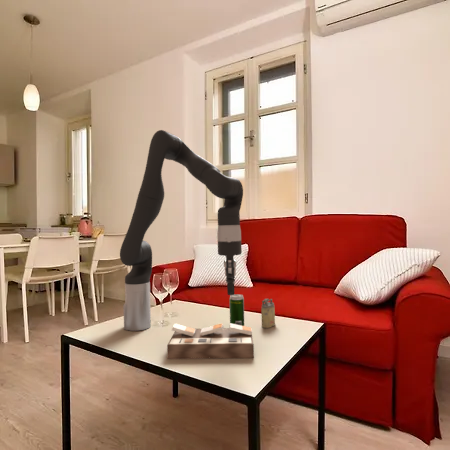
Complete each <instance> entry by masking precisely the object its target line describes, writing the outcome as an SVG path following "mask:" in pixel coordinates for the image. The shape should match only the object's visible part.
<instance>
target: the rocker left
mask: <svg viewBox="0 0 450 450" xmlns="http://www.w3.org/2000/svg"><path fill="white" fill-rule="evenodd" d="M196 329H197V328H194V327H193V328H192V327H191V326H190V327H189V326H185V325H181V324H179V323H176V322H175V323H174V324H173V326H172V328H171V331H173V332H175V331H176V332H179V333H183V334H186V335H189V336H192V337H193V336H194V333H195V330H196Z"/></svg>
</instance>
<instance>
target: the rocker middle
mask: <svg viewBox="0 0 450 450" xmlns="http://www.w3.org/2000/svg"><path fill="white" fill-rule="evenodd" d="M223 328H224V323H223V322H221V323H217V324H213V325H211V326H206V327H201V328H200V329H201V336H203V335H207V334H211V333H215V332H219V331H223Z"/></svg>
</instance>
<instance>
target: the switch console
mask: <svg viewBox="0 0 450 450" xmlns="http://www.w3.org/2000/svg"><path fill="white" fill-rule="evenodd" d="M195 329H196V330H195V333H194V336H193V337H192V336H189V335H186V334H183V333H179V332H176V331H173V334H172V335H171V338H170V339H169V341H168V343H167V346H166V347H167V348H166V349H167V354H166V355H167V360H172V359H173V360H174V359H175V360H177V359H179V360H180V359H181V360H183V359H186V360H187V359H255V354H254V349H255V348H254V340H253V339H254V337H253V334H252V335H248V334H244V333H239V332H234V331H230V330H229V327H223V331H219V332H215V333H211V334H207V335H203V336H201V329H202V328H195Z"/></svg>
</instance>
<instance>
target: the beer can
mask: <svg viewBox="0 0 450 450" xmlns="http://www.w3.org/2000/svg"><path fill="white" fill-rule="evenodd" d="M230 323H232V324H236V325H241V326H245V298H244V295H243V294H238V293H237V294H235V293H234V295H229V324H230Z"/></svg>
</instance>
